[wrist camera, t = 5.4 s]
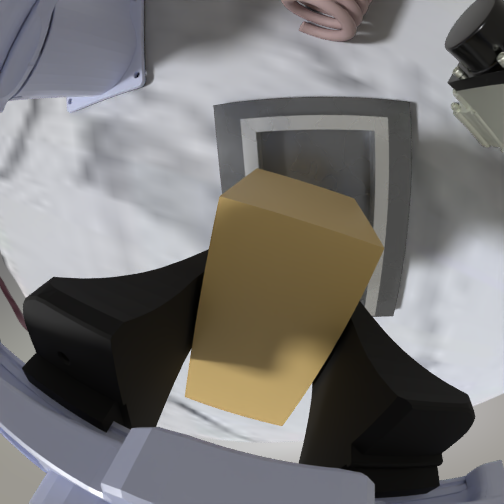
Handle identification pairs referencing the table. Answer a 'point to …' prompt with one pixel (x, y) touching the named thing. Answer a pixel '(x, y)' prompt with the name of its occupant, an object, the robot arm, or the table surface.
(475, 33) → the pneumatic valve
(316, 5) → the coil
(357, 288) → the beige wooden block
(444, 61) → the table surface
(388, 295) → the gray rectangular tray
